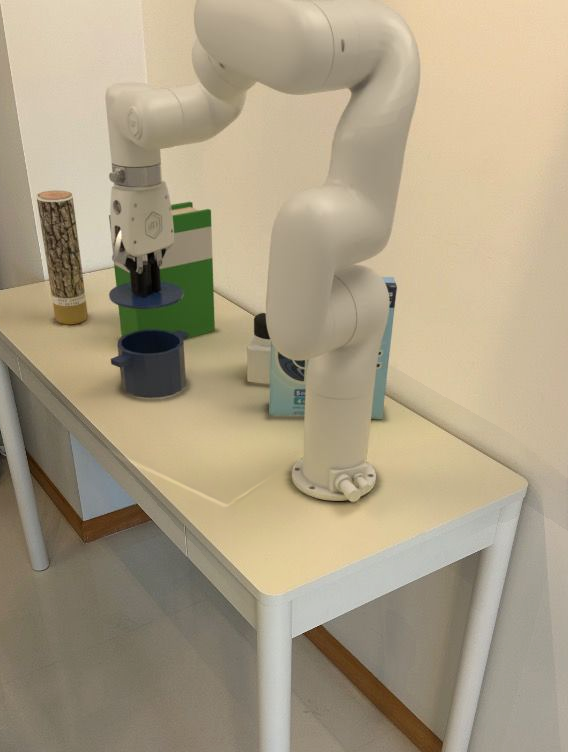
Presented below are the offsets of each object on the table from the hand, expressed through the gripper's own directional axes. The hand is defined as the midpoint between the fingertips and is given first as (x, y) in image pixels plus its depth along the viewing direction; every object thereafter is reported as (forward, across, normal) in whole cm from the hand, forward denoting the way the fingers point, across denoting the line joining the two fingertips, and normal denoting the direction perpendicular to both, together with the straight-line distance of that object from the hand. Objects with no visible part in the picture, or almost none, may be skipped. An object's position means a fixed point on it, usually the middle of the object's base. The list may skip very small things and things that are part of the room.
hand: (146, 291), depth 135 cm
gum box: (+17, +12, -30) cm, 37 cm away
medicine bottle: (+18, +16, -14) cm, 28 cm away
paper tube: (+18, +12, +36) cm, 42 cm away
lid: (+1, 0, 0) cm, 1 cm away
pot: (+17, 0, 0) cm, 17 cm away
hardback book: (+18, +19, +14) cm, 30 cm away
